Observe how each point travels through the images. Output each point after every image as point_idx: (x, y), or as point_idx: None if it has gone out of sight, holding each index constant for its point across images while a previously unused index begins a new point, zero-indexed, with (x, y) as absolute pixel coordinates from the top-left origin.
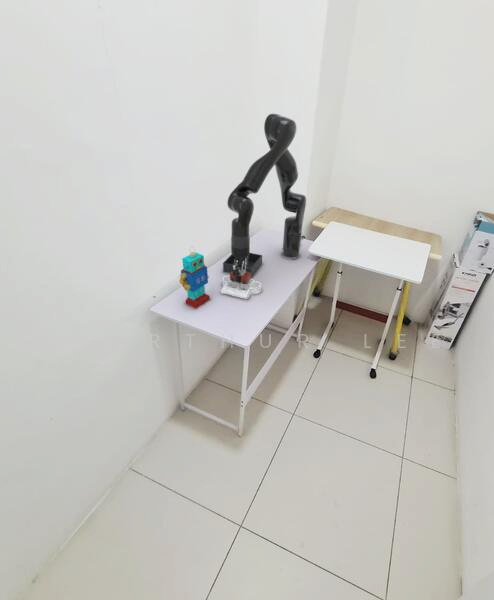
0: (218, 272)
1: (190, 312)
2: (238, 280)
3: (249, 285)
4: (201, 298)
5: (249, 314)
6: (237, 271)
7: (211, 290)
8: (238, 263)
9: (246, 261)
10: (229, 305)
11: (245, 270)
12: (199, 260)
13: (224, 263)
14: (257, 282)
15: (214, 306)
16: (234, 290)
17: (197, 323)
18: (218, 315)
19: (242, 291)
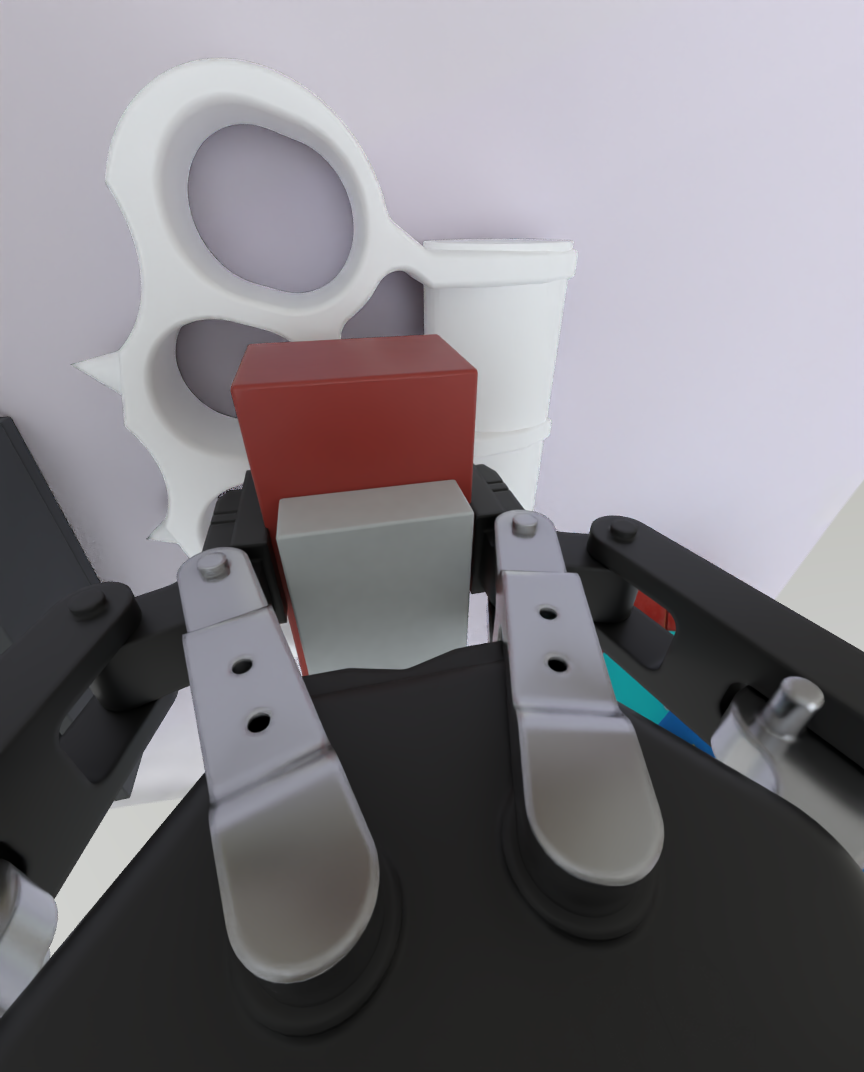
0: (191, 715)
1: (739, 577)
2: (503, 485)
3: (342, 308)
4: (664, 609)
5: (806, 60)
6: (785, 610)
7: (470, 616)
8: (823, 829)
9: (58, 711)
10: (647, 387)
11: (297, 523)
12: None
13: (122, 788)
14: (157, 196)
15: (670, 491)
16: (524, 447)
17: (855, 484)
18: (786, 403)
19: (514, 344)
